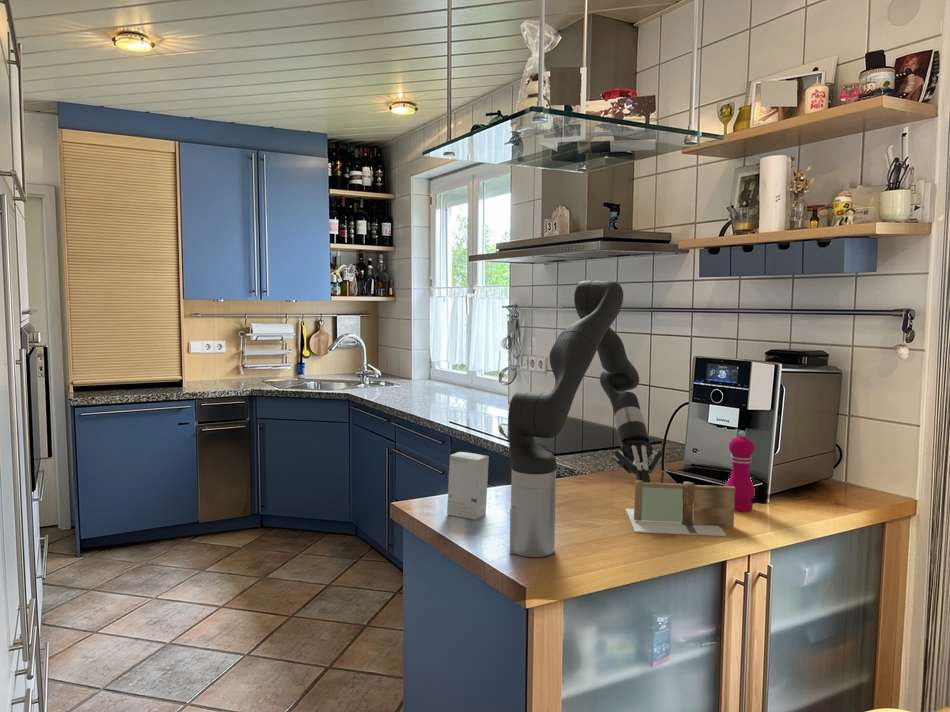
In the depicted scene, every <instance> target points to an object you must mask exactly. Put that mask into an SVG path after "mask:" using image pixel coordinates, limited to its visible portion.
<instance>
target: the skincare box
mask: <svg viewBox="0 0 950 712" xmlns="http://www.w3.org/2000/svg"><path fill="white" fill-rule="evenodd" d="M489 458H490V456H489V455H484V454H478V453H473V452H468V451H466V452H465V451H458V452H455V453H452V454H450V455H449V467H448V469H449V470H448V483H447V485H448V488H447V507H446V515H447V516H450V515H451V516H452V517H458V518H464V519H469V520H472V521H473V520H474V521H476V520H479V519H480V518H482V517H483V516H485V515H486V514H487V500H488V499H487V498H488V497H487V495H488V478H489V477H488V476H489V460H490V459H489ZM451 516H450V517H451Z"/></svg>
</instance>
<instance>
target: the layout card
mask: <svg viewBox="0 0 950 712" xmlns="http://www.w3.org/2000/svg"><path fill="white" fill-rule="evenodd" d="M625 512H626V515H627V516H629V517H628V519H629V522H630V521H631V522H630V524H631V526H632V528H633V531H634V533H637V534H638V533H640V534H643V533H644V534H664V535H665V534H667V535H690V536H711V537H712V536H714V537H726V536H727V534H726V533H725V532H724V531H723V529H722V527H719V525H699V524H692V525H685V524H682V522H671V521H646V520H641V521H636V520H634V508H625Z"/></svg>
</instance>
